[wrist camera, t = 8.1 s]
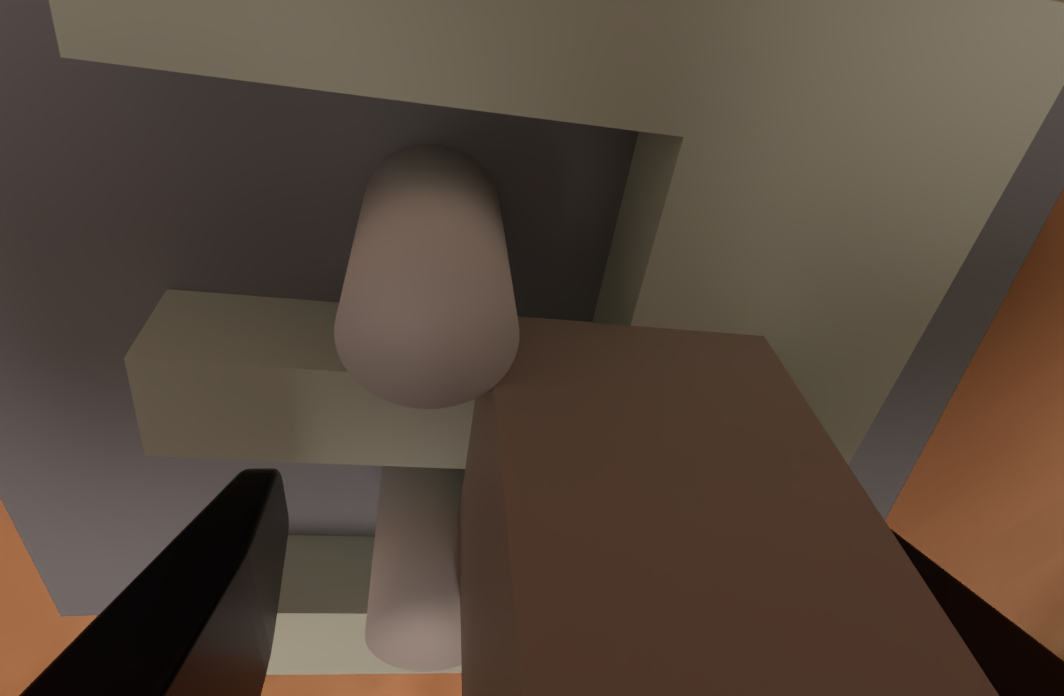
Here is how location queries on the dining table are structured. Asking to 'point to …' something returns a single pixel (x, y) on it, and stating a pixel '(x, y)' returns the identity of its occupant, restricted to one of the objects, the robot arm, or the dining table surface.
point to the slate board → (331, 297)
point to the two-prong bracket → (634, 329)
